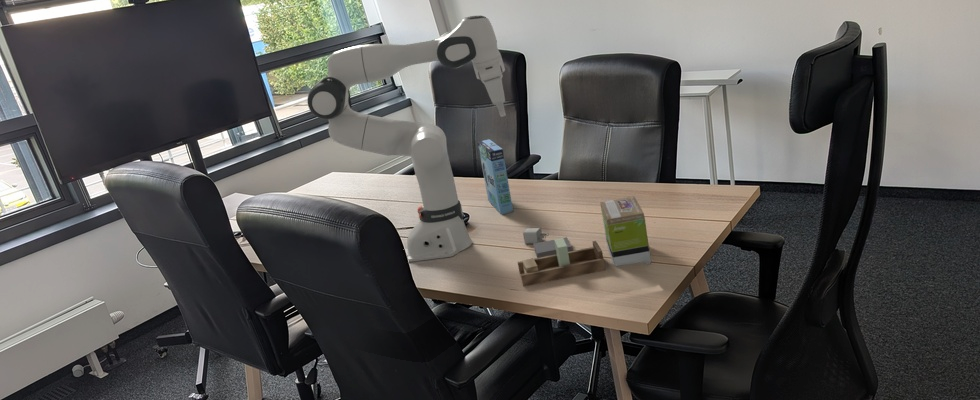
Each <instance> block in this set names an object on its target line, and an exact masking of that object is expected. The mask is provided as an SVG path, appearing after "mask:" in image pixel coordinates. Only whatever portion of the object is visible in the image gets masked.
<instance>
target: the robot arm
mask: <svg viewBox="0 0 980 400" xmlns="http://www.w3.org/2000/svg"><path fill="white" fill-rule="evenodd" d="M328 57H329V58H328V61H327V74H328V75H327V76H325V77H323V78H321V79H320V80H319V81H317V82H316V83H315V84H314V85H313V86H312V88H311V89H310V91H309V92H308V95H307V106H308V109H309V112H311V114H312V115H314V116H315V117H317V118H318V119H320V120H327V121H328V125H327V126H328V127H327V130H328V134H329V137H330V139H331V140H332V141H333V142H335V143H337V144H339V145H342V146H345V147H348V148H352V149H355V150H358V151H363V152H369V153H374V154H379V155H383V156H387V157H388V156H405V157H410V158H411V163H412V166H413V169H414V170H413V171H414V174H415V177H416V180H417V183H418V186H419V187H418V188H419V191H420V197H421V202H422V206H418V207H417V213H418V219H419V221H418V222H417V223H416V225H414V227H413V228H412V229H411V230H410V231H409V233H408V235H407V238H406V239H407V240H406V243H407V245H406V246H405V247H404V249H405V250H406V253H407V257H408V260H409V262H408V263H412V262H419V261H427V260H434V259H435V260H436V259H442V258H443V259H444V258H450V257H454V256H455V255H457V254H458V253H459V252H461V251H462V252H463V251H464V250H465V249H467V248H469V247H470V246H471V245H472V244H473V240H472V238H471V237H470V234H469V232H468V229H467V228H466V224H465V222H464V211H463V207H462V204H461V201H460V200H459V197H458V191H457V187H456V182H455V178H454V174H453V170H452V166H451V162H450V157H449V152H448V146H447V145H448V144H447V137H446V134H445V132H444V131H443V129H442V128H440V126H438V125H436V124H434V123H426V122H418V121H417V122H416V121H412V120H397V119H391V118H386V117H383V116H377V115H374V114H373V115H371V114H367V113H362V112H358V111H355V110H353V109H352V100H351V99H352V98H351V91H350V88H351V87H354V86H357V85H360V84H361V85H362V84H368V83H376V82H379V81H380V82H381V81H383V80H387V79H388V78H391V77H393V76H394V75H396V74H397V73H398V72H400V71H402V70H403V69H405V68H408V67H411V66H414V65H420V64H421V65H422V64H427V63H431V62H439V63H440V64H441V65H442V66H444V67H446V68H448V69H458V68H461V67H463V66H464V65H466V64H467V63H469V62H471V63H472V66H473V70H474V73H475V76H476V79H477V80H480V81H481V82H482V84H483V85H484V87H485V89H486V91H487V94H488V96H489V99H490V101H491V104H492V105H493V106H496V109H497V111H498V113H499V117H500V118H503V117H506V116H507V114H506V109H505V105H504V103H505V102H506V97H505V91H504V84H503V76H504V75H503V73H504V72H505V71H506V68H505V63H504V61H503V58H502V54H501V52H500V50H499V48H498V41H497V37H496V34H495V31H494V28H493V25H492V23H491V21H490V19H489V18H487V17H486V16H484V15H469V16H467V17H464V18H462V19H461V21H460V23H459V24H458V25H457V26H456V27H455V28H454V29H453V30H451V31H447V32H445V33H443V34H442V35H440V36H439V37H437V38H435V39H432V40H428V41H427V40H426V41H420V42H414V43H410V44H409V43H408V44H392V43H369V44H368V43H367V44H361V45H355V46H354V45H353V46H351V47H347V48H344V49H343V48H342V49H340V50H337V51H334V52H332V54H331V55H329V56H328Z"/></svg>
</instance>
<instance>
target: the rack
mask: <svg viewBox="0 0 980 400" xmlns="http://www.w3.org/2000/svg"><path fill="white" fill-rule="evenodd" d="M568 255H569V261H570V265H565V266H560V267H559V264H558V259H557V254H555V255H550V256H545V257H540V258H537V257H536V258H533V259H534V261H535V262H536V264H537V266H538V271H535V272H530V273H524V268H523V261H522V260H521V261H517V266H518V267H517V268H518V273H519V275H520V279H521V283H522V286H523V287H528V286H533V285H537V284H542V283H547V282H553V281H557V280H561V279H567V278H572V277H577V276H582V275H587V274H592V273H598V272H602V271H603V272H604V271H606V263H605V259H604V255H603V250H602V248H601V246H600V245H599V244H598V242H597V241H596V240H594V241H593V240H592V247H586V248H581V249H575V250H572V251H570V252H568Z"/></svg>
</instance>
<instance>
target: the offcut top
mask: <svg viewBox="0 0 980 400" xmlns="http://www.w3.org/2000/svg"><path fill="white" fill-rule="evenodd" d="M534 259H535V258H534V257H531V258H527V259H523V260H521V261H523V267H524V269H525V271H526V273H530V272H535V271H538V266H537V264H536V262H535V261H534Z"/></svg>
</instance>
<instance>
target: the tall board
mask: <svg viewBox="0 0 980 400" xmlns="http://www.w3.org/2000/svg"><path fill="white" fill-rule="evenodd" d="M563 238H564V237H560V238H555V239H553V240H554V241H555V247H556V253H557V259H558V264H559V267H560V266H565V265H570V261H569V255H568V249H567V245H566V243H565V241H564V239H563Z"/></svg>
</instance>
